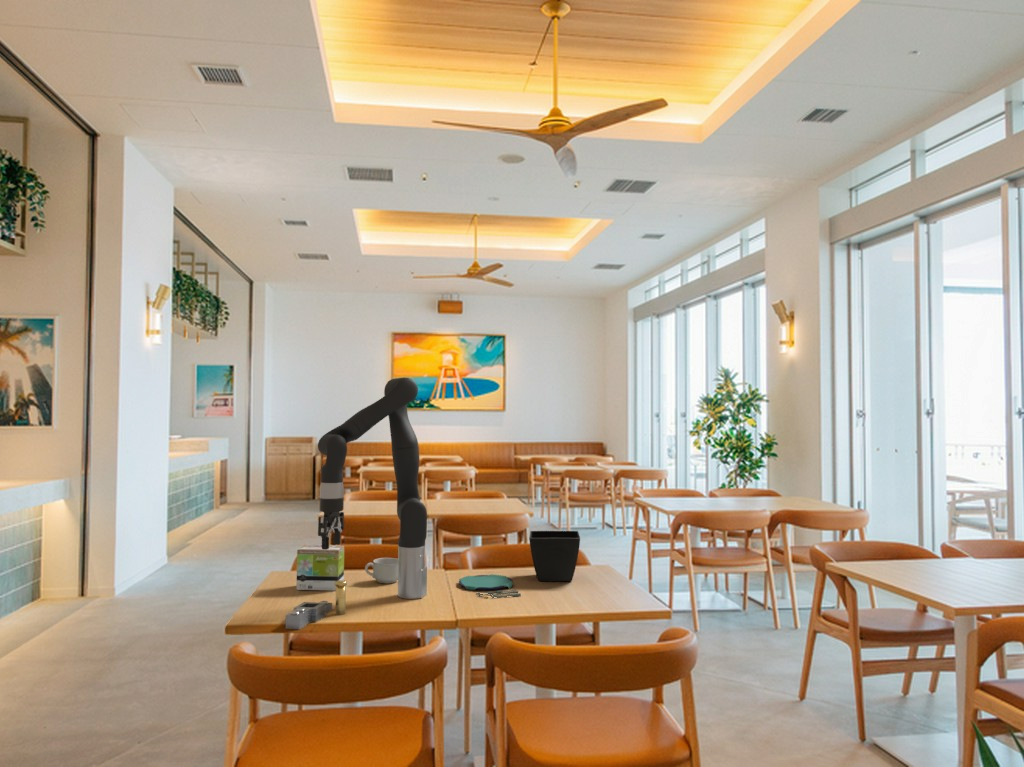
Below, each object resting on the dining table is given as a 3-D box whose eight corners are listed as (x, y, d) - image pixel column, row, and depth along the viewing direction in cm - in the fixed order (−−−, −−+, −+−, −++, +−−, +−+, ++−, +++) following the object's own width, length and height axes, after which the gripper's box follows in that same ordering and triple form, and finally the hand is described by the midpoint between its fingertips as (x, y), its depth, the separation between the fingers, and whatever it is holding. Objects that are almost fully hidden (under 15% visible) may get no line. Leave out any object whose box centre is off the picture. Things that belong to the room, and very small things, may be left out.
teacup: (399, 577, 293) (399, 556, 294) (404, 583, 283) (404, 562, 283) (362, 580, 289) (362, 558, 289) (366, 586, 279) (366, 564, 279)
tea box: (295, 591, 271) (296, 549, 272) (303, 584, 282) (303, 544, 282) (338, 591, 272) (338, 549, 272) (344, 584, 282) (344, 544, 282)
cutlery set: (505, 578, 293) (505, 572, 293) (526, 598, 264) (526, 591, 264) (454, 582, 288) (454, 575, 288) (470, 602, 259) (469, 596, 259)
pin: (348, 612, 243) (348, 580, 243) (343, 615, 239) (344, 583, 239) (337, 611, 244) (337, 580, 244) (332, 614, 240) (332, 582, 240)
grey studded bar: (336, 609, 246) (336, 594, 247) (304, 629, 224) (304, 613, 224) (315, 608, 248) (315, 594, 248) (281, 628, 225) (281, 612, 225)
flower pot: (530, 572, 303) (530, 529, 303) (578, 573, 302) (578, 530, 302) (529, 583, 284) (529, 537, 284) (580, 584, 283) (580, 538, 283)
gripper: (332, 499, 240) (332, 551, 240) (351, 494, 254) (351, 543, 254) (310, 498, 242) (310, 550, 241) (330, 493, 256) (330, 542, 255)
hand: (331, 546), depth 247 cm, fingers open, 8 cm apart
